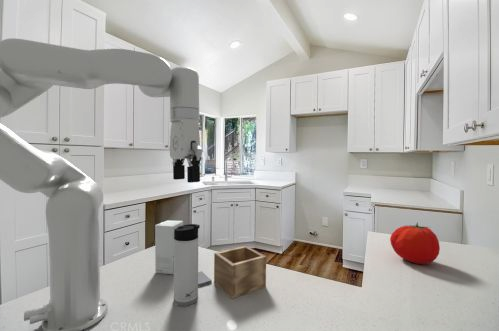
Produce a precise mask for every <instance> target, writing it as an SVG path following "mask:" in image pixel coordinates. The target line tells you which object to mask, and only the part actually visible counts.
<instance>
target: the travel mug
mask: <svg viewBox="0 0 499 331" xmlns="http://www.w3.org/2000/svg"><path fill="white" fill-rule="evenodd" d="M199 229H200V224H197V223H196V224H195V223H190V224H183V225H182V226H179V227H178V228H176V229H174V273H173V303H174V304H175V305H176V306H178V307H189V306H191V305H194V304H195V303H196V302H197V301H198V298H199V287H198V272H199Z"/></svg>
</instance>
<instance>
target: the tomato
mask: <svg viewBox="0 0 499 331" xmlns="http://www.w3.org/2000/svg"><path fill="white" fill-rule="evenodd" d="M389 242H390V246H391V248H392V249H393V251H394V252H395V253H396V254H397V256H398V257H400V258H402V259H403V260H405V261H408V262H409V263H414V264H416V265H418V264H419V265H422V264H423V265H425V264H426V265H427V264H431V263H432V262H434V261H435V260H436V259H437V258H438V256H439V255H440V249H441V247H440V241H439V239H438V237H437V234H435V233H434V231H433V230H432V229H431V228H430V227H428V226H419V223H418V222H416V224H414V225H403V226H400V227H397V228H396V229H395V230H393V232H392V233H391V235H390V238H389Z"/></svg>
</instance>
